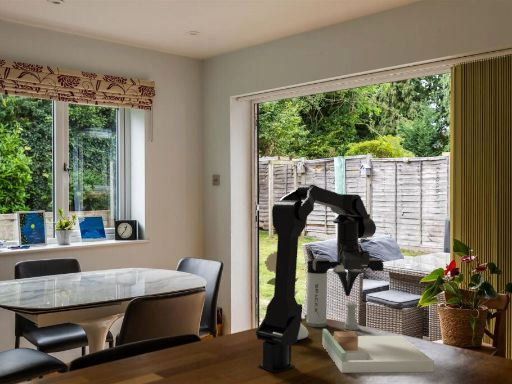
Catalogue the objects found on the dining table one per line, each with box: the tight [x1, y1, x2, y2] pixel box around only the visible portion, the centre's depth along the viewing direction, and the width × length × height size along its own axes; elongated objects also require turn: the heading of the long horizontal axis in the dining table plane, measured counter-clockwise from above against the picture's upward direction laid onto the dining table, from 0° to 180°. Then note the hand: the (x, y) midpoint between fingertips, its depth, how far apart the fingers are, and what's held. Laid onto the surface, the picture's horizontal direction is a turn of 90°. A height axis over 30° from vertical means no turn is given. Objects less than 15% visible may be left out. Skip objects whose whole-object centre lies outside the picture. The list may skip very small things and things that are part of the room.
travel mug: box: [305, 260, 328, 328], centre depth 174 cm, size 6×7×20 cm
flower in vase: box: [264, 250, 309, 341], centre depth 158 cm, size 13×11×25 cm
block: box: [333, 330, 359, 351], centre depth 139 cm, size 5×5×4 cm
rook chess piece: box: [343, 301, 359, 331], centre depth 170 cm, size 4×4×8 cm
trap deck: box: [321, 328, 435, 374], centre depth 140 cm, size 22×23×4 cm
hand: (347, 295), depth 152 cm, fingers closed
